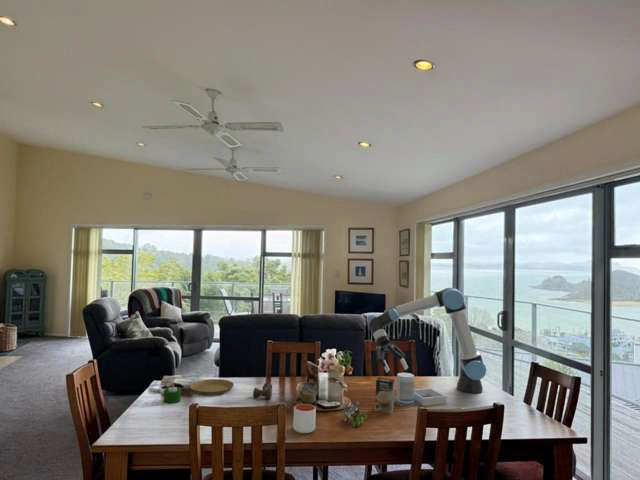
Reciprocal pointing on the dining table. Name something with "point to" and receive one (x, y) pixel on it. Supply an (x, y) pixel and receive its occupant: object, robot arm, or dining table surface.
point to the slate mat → (406, 404)
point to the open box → (435, 399)
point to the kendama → (263, 391)
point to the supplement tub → (405, 388)
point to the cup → (304, 418)
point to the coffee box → (384, 395)
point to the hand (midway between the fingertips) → (397, 370)
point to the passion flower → (352, 410)
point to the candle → (172, 395)
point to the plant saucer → (212, 387)
